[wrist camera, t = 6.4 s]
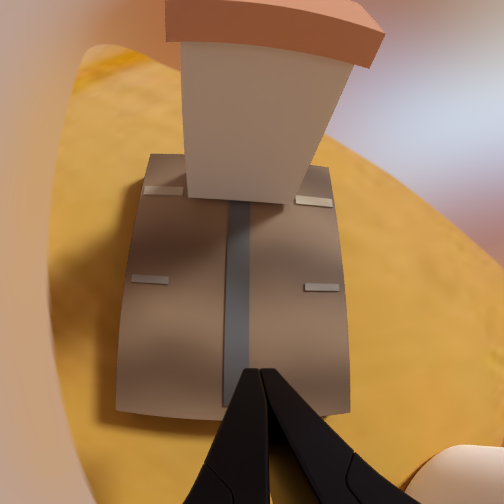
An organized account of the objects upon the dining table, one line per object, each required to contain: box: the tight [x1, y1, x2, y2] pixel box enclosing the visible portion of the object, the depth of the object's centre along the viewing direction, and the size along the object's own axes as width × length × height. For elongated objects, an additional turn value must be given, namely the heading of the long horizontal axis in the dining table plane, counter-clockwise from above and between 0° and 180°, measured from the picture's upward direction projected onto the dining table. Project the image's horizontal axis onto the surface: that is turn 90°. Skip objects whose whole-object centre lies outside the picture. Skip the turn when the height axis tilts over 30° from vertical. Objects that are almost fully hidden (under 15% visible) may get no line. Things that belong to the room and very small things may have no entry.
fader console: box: [116, 154, 350, 420], centre depth 17 cm, size 16×12×2 cm
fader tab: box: [165, 0, 385, 205], centre depth 12 cm, size 3×7×12 cm, turn 90°
